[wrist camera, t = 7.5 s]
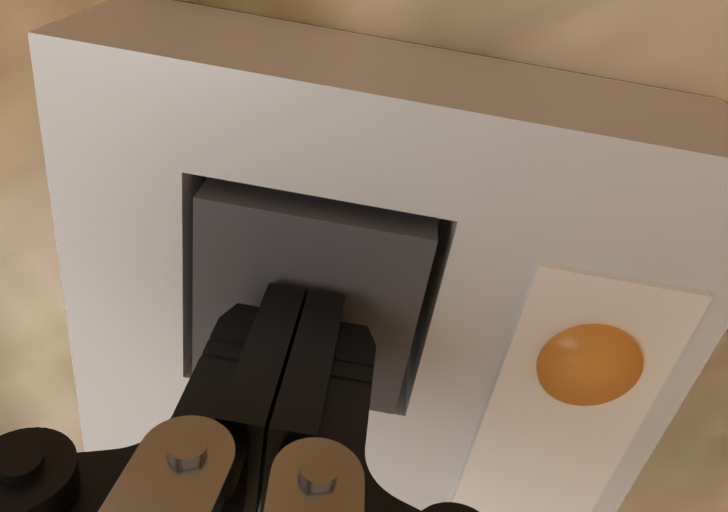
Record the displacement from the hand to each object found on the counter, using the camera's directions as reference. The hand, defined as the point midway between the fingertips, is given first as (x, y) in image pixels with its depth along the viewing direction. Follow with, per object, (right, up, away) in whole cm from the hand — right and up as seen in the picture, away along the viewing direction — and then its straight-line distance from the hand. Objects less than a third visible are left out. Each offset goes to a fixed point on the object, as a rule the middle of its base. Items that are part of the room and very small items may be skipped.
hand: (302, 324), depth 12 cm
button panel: (+1, -5, +8) cm, 9 cm away
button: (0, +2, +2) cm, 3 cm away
